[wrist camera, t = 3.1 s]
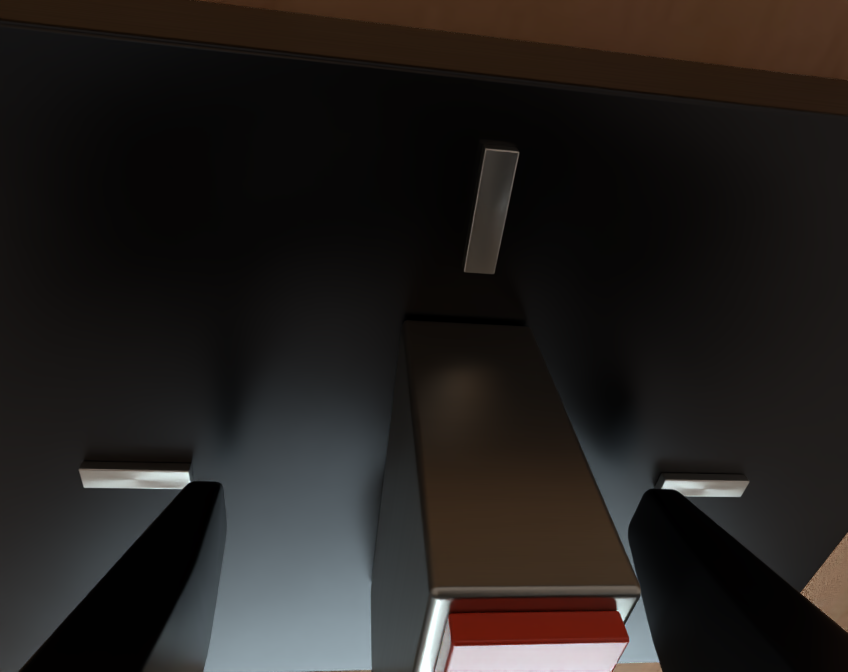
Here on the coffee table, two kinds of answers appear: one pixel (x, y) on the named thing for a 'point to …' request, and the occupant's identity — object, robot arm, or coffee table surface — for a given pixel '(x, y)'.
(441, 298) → the panel
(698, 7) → the coffee table surface
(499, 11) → the coffee table surface
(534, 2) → the coffee table surface
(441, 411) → the stove knob
